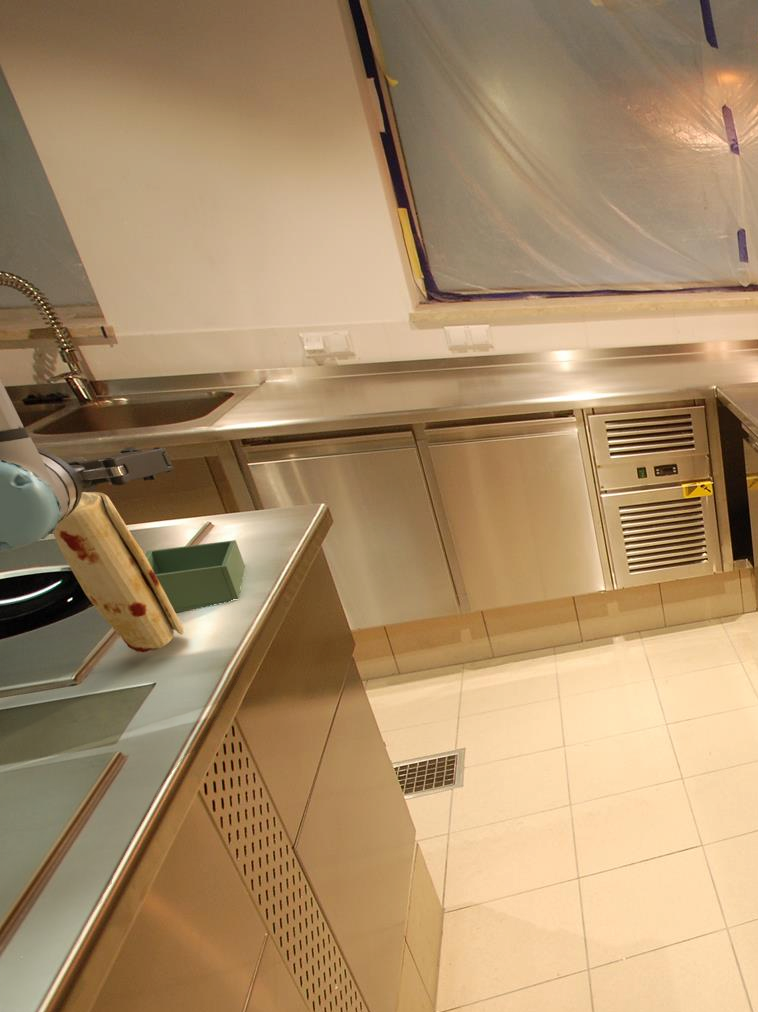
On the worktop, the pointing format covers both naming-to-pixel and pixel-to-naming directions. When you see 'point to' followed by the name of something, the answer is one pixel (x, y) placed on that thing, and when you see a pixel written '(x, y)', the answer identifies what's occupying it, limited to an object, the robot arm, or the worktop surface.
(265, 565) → the worktop surface
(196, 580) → the bin
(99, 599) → the food model
